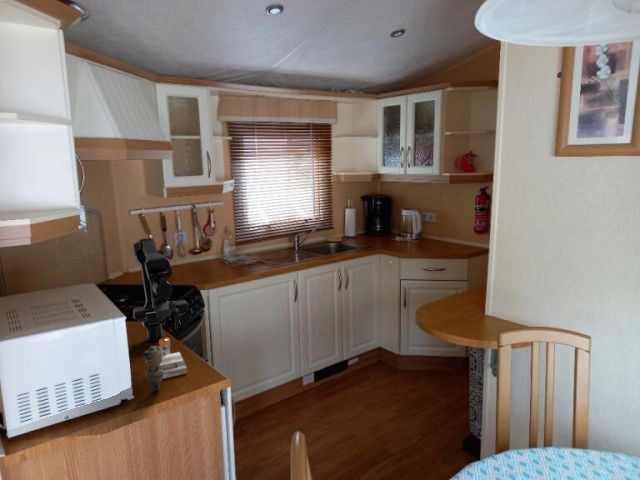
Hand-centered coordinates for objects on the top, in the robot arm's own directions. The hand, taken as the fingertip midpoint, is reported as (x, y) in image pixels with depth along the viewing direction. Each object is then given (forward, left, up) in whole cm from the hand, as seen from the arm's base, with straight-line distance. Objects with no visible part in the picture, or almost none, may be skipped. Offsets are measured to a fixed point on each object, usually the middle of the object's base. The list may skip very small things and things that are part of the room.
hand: (163, 331), depth 167 cm
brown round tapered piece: (0, 0, -10) cm, 10 cm away
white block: (+10, +4, -10) cm, 14 cm away
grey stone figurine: (+26, +4, -10) cm, 28 cm away
